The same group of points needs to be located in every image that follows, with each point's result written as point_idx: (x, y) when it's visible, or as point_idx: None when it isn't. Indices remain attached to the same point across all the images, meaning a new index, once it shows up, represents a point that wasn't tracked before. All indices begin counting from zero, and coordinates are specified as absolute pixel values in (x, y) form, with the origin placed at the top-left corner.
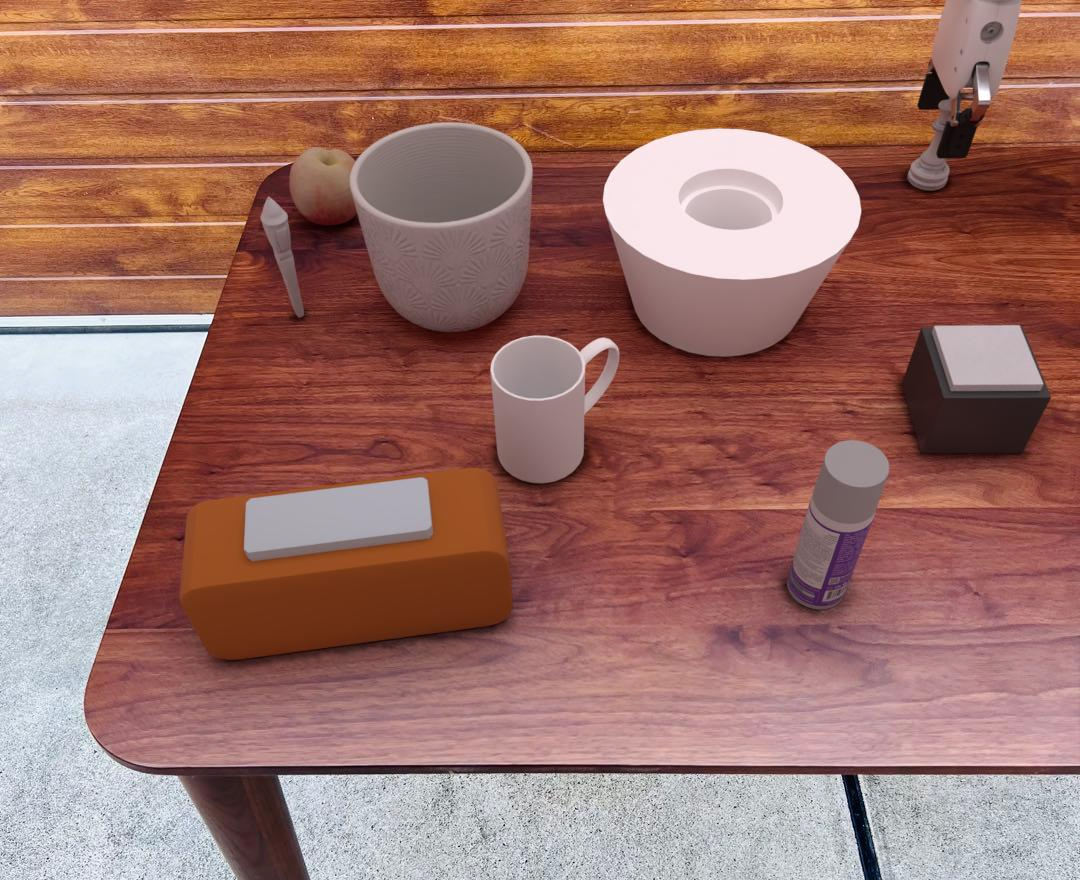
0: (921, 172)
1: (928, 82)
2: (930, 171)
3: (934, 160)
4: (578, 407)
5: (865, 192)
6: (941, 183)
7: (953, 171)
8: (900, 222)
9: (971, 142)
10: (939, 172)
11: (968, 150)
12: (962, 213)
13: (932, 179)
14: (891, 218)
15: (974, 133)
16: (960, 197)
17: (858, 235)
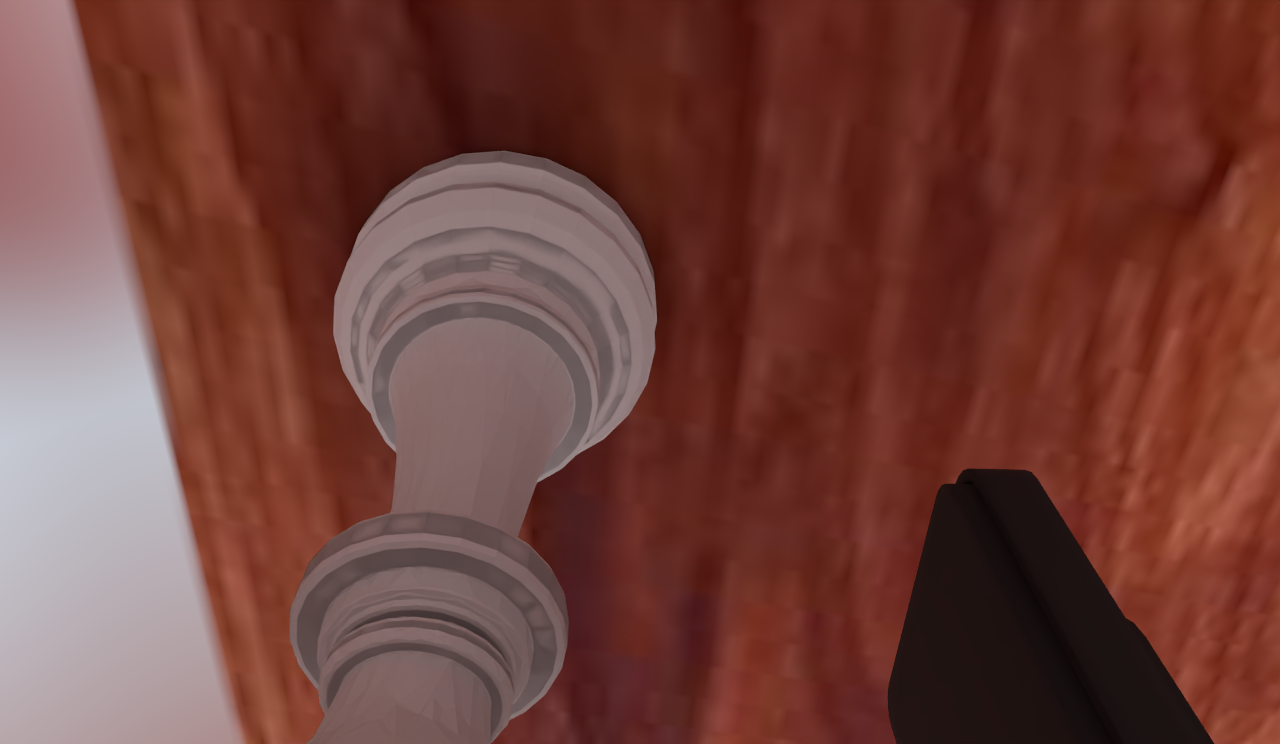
0: (592, 443)
1: None
2: (605, 396)
3: (568, 427)
4: None
5: (634, 648)
6: (634, 249)
7: (359, 40)
8: None
9: (1113, 607)
10: (613, 324)
11: (1065, 529)
12: (972, 131)
13: (652, 357)
14: None
15: (1184, 725)
16: (755, 87)
17: None
